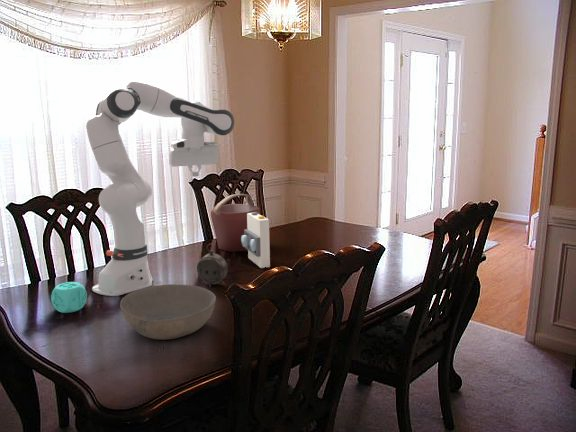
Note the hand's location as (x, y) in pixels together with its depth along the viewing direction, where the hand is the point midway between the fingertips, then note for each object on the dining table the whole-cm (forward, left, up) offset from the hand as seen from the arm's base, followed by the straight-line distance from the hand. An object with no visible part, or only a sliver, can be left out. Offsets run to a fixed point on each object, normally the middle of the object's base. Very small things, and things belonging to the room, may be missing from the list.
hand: (195, 176), depth 216 cm
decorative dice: (-61, +3, -37) cm, 72 cm away
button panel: (+12, -22, -37) cm, 45 cm away
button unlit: (+11, -16, -31) cm, 36 cm away
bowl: (-56, -38, -37) cm, 77 cm away
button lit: (+8, -24, -31) cm, 39 cm away
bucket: (+28, +1, -37) cm, 47 cm away
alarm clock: (-20, -24, -37) cm, 49 cm away
